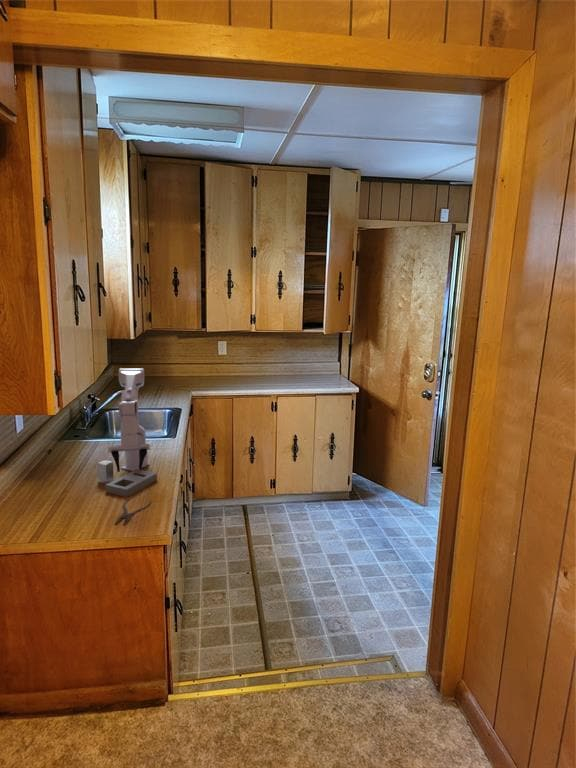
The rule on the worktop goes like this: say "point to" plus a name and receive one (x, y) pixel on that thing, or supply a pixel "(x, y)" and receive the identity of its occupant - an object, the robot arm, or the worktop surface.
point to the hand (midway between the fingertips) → (129, 470)
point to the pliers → (128, 516)
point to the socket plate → (130, 482)
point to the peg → (105, 472)
